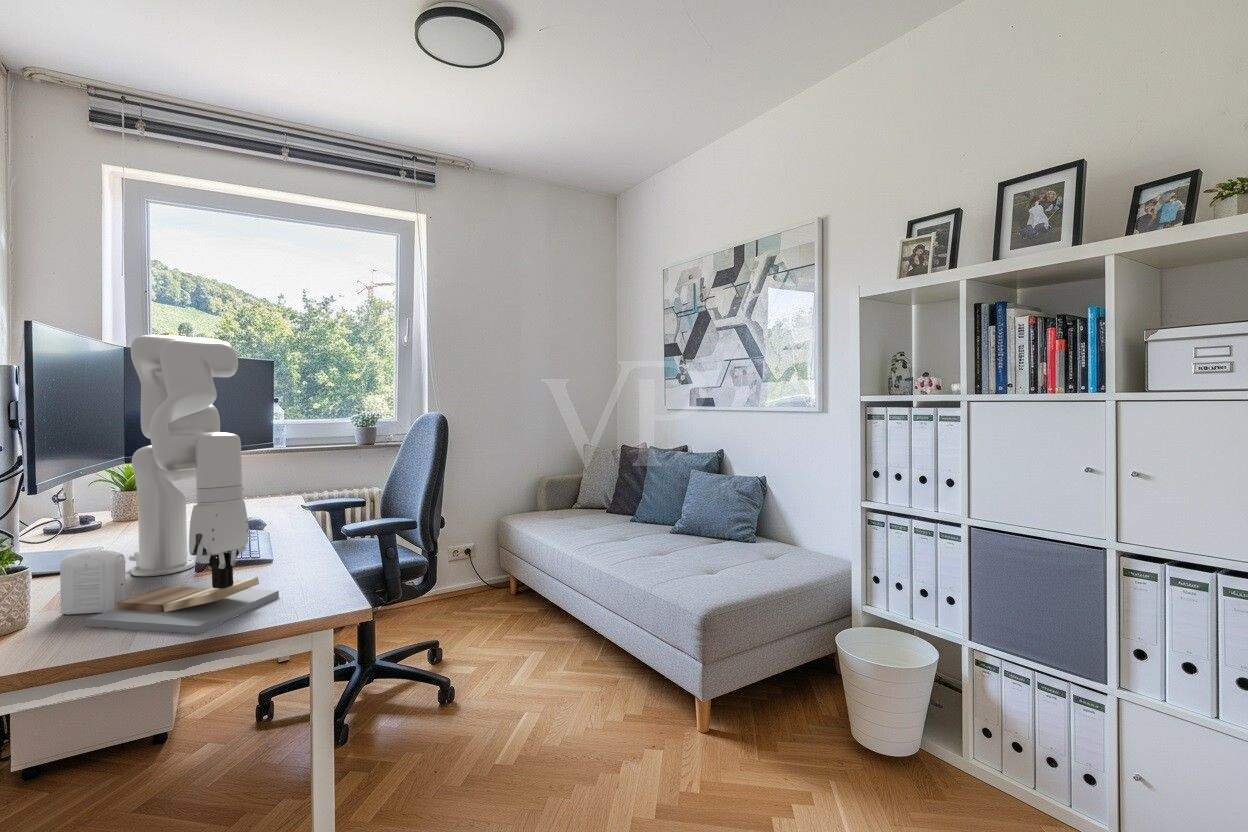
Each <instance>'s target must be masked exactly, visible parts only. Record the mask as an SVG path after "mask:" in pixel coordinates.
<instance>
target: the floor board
mask: <svg viewBox="0 0 1248 832" xmlns="http://www.w3.org/2000/svg"><path fill="white" fill-rule="evenodd" d="M178 587H195V588H210V587H211V586H207V585H206V586H205V585H203V586H202V585H186V584H183V585H179V586H178ZM279 592H280V591H279V590H276V589H275V590H274V589H256V588H254V589H253V588H248V589H245V590H243V591H240V592H238V593H235V594H233V595H230V596H228V597H226V598H223V599H221V600H218V601H213V602H209V603H204V604H199V605H195V606H190V607H186V608H181V609H177V610H172V611H168V612H150V611H134V610H119V609H118V608H115V609H112V610H110V611H107V612H101V613H97V614H96V615H93V616H90V617H87V618H85V619H86V620H85V622H86V627H87V626H95V627H94V628H101V627H108V628H107V629H115V628H118V629H119V630H130V629H132V631H133V630H134V631H144V630H147V632H158V631H161V632H160V633H172V632H179V633H178V634H186V633H190V634H189V635H199V634H201V633H203V631H204V632H206V631H208V630H210V629H212V628H214V627H213V626H215V625H217V624H219V625H221V624H222V623H221V622H223V623H225V622H224V621H226V620H228V619H230V618H232V617H234V616H237V615H239V616H241V615H243V614H245V613H244V612H246V613H248V612H249V611H248V610H250V611H252V610H254V609H256V608H255V607H257V608H258V606H259V607H261V606H263V605H265V604H268V603H269V602H271V601H274V600H276V599H278V598H279V597H280V593H279ZM267 602H268V603H267ZM262 604H263V605H262ZM260 605H261V606H260ZM253 608H254V609H253ZM251 609H252V610H251ZM247 611H248V612H247ZM242 613H243V614H242ZM240 614H241V615H240ZM237 617H238V616H237ZM232 619H233V618H232ZM230 620H231V619H230ZM228 621H229V620H228ZM226 622H227V621H226ZM220 623H221V624H220ZM217 626H218V625H217ZM211 627H212V628H211ZM215 627H216V626H215ZM209 628H210V629H209ZM207 629H208V630H207ZM205 630H206V631H205ZM198 633H199V634H198Z"/></svg>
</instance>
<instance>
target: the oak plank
mask: <svg viewBox="0 0 1248 832" xmlns="http://www.w3.org/2000/svg"><path fill="white" fill-rule="evenodd" d="M259 584H260V581H259V577H258V576H254V577H251V578H247V579H243V580H237V581H233V585H232V586H229V587H227V588H213V587H212V586H209V587H210V588H206V589H204V590H201V591H198V592H196V593H193V594H190V595H188V596H185V597H182V598H179V599H177V600H174V601H171V602H169V603H166V604H163V608H164V612H168V611H172V610H177V609H181V608H186V607H190V606H195V605H199V604H204V603H209V602H213V601H218V600H221V599H223V598H226V597H228V596H230V595H233V594H235V593H238V592H240V591H243V590H245V589H251V588H253V587H255V586H257V585H259Z"/></svg>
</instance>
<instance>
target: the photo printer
mask: <svg viewBox="0 0 1248 832" xmlns="http://www.w3.org/2000/svg"><path fill="white" fill-rule="evenodd" d="M59 570H60V571H59V575H60V577H59V578H60V579H59V580H60V583H59V584H60V614H61V615H63V614H66V615H78V614H101V613H104V612H107V611H110V610H112V609H115V608H118V602H119V601H122V600H125V599H127V598H126V596H127V594H126V558H125V555H124V554H123V553H121V552H117V551H111V550H104V549H94V550H85V551H80V552H75V553H73V554H69V555H67V556H66V555H65V556H64V557H63V558H62V560H61V562H60V567H59Z"/></svg>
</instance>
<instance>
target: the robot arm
mask: <svg viewBox="0 0 1248 832" xmlns="http://www.w3.org/2000/svg"><path fill="white" fill-rule="evenodd" d="M130 357H131V361H132V365H133V366H134V367H133V368H134V369H135V371H136V374H137V376H138V378H139V382H140V429H141V430H140V431H141V432H142V435H143V436H144V437H146V438H147V439H150V445H146V446H142V447H140V448H138V449H136V451H134V453H133V455H132V457H131V467H132V472H133V475H134V482H135V485H136V494H137V495H136V496H137V517H138V518H137V520H138V521H137V522H138V523H137V524H138V525H137V526H138V528H137V530H138V551H136V552H134V553H133V555H130V556H129V557H128V561H129V562H135V563H136V564H135V566H134V567H132V568H131V570H130V574H131V575H132V576H135V577H155V576H164V575H169V574H170V575H171V574H175V573H179V572H183V571H187V570H190V569H191V568H193V567H194V566H196V564H205V565H207V566H208V569H211V583H212V584H211V585H212V586H211V587H213V588H227V587H229V586H232V585H233V582H234V571H233V570H234V568H233V567H234V566H235V565H236V563H237V562H236V560H237V558H238V556H239V555H240V554H241V553H243V552H245V551H246V548H247V547H246V545H247V544H248V543H249V533H250V532H249V531H250V530H249V522H248V514H247V513H248V511H247V508H246V507H247V506H246V504H245V503H246V502H245V499H244V498H243V492H244V487H243V473H242V471H243V470H242V469H243V467H242V466H243V465H242V443H241V437H240V436H239V435H238V434H237V433H236V434H235V433H232V432H231V433H230V432H226V431H225V432H224V431H223V432H221V419H220V414H219V411H218V409H217V407H216V406H215V405H214V403H215V401H216V400H217V398H218V396H217V395H218V392H217V389H216V386H215V382H214V378H231V377H233V376H234V375H235V374H236V373H237V371H238V368H239V357H238V354H237V351H236V350H235V348H234V347H233V345H231V344H230V343H229V342H227V341H224V340H220V339H216V338H208V337H207V338H205V337H191V336H190V337H189V336H179V335H165V334H164V335H163V334H146V335H145V334H144V335H141V336H137V337H135V338H133V340H132V342H131V344H130ZM191 480H192V481H194V480H195V484H196V485H195V486H196V488H195V489H196V491H195V492H196V493H195V494H196V504H195V505H193V506H192V510H191V515H190V520H189V529H188V530H189V531H188V530H187V528H188V527H187V499H186V496H185V495H184V493H183V492H182V491H181V490H180V489H179V488H177V486H175V485H174V482H181V481H183V482H184V481H191ZM187 532H188V534H187ZM188 552H189V554H190V555H191V556H195V559H193V558H188Z"/></svg>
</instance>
